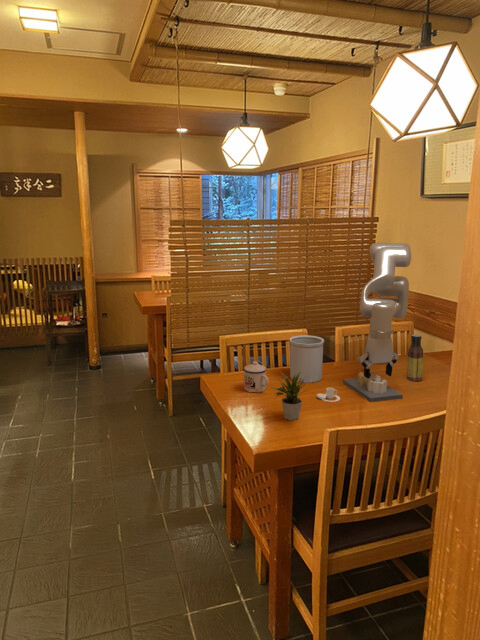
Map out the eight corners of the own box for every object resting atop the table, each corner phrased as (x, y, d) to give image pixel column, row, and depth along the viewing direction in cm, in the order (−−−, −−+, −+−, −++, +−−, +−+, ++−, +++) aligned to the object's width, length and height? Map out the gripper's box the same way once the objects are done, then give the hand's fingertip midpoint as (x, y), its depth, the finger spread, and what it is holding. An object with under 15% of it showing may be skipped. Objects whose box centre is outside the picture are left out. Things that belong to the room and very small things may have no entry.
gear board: (342, 382, 195) (343, 365, 193) (372, 379, 198) (373, 362, 197) (370, 401, 174) (371, 382, 172) (402, 398, 177) (404, 379, 176)
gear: (363, 387, 185) (364, 378, 184) (379, 386, 186) (380, 376, 186) (373, 394, 178) (374, 384, 177) (390, 392, 180) (390, 382, 179)
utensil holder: (299, 385, 191) (301, 345, 187) (282, 375, 204) (283, 337, 201) (329, 380, 197) (331, 341, 193) (310, 370, 210) (311, 333, 207)
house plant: (278, 405, 170) (279, 363, 167) (314, 411, 165) (316, 367, 162) (265, 420, 157) (266, 375, 154) (304, 427, 152) (306, 380, 149)
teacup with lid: (238, 388, 187) (239, 361, 185) (254, 383, 193) (255, 357, 191) (259, 397, 178) (259, 368, 176) (275, 391, 184) (276, 363, 182)
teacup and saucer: (315, 400, 176) (315, 390, 175) (319, 393, 183) (320, 384, 182) (338, 404, 173) (338, 393, 172) (341, 396, 180) (342, 387, 179)
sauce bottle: (419, 377, 202) (423, 333, 198) (423, 382, 196) (427, 337, 192) (404, 376, 202) (407, 333, 198) (407, 381, 196) (411, 336, 192)
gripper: (394, 330, 183) (391, 371, 187) (355, 333, 179) (353, 375, 182) (405, 335, 176) (402, 377, 180) (365, 338, 172) (363, 381, 175)
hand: (377, 376), depth 181 cm, fingers open, 9 cm apart
